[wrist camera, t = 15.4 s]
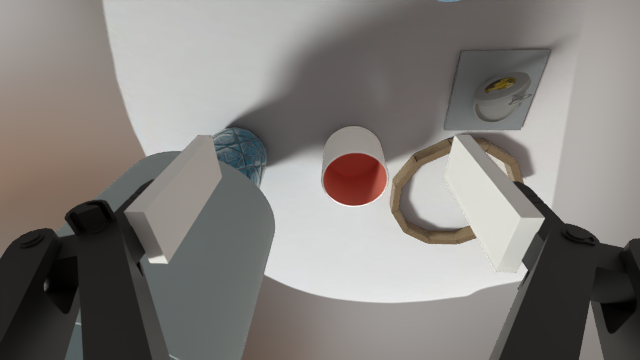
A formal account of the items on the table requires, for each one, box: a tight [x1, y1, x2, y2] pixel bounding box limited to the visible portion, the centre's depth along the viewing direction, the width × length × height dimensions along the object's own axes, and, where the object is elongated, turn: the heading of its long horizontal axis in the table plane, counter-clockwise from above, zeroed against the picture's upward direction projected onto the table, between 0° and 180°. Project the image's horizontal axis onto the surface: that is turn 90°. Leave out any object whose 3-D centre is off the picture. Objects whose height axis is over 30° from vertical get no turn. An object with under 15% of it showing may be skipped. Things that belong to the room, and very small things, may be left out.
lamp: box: [55, 127, 275, 360], centre depth 37 cm, size 19×19×38 cm
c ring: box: [390, 139, 524, 244], centre depth 54 cm, size 22×22×2 cm
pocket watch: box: [473, 72, 532, 123], centre depth 40 cm, size 8×8×10 cm
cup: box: [321, 126, 389, 207], centre depth 47 cm, size 10×10×10 cm
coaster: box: [444, 49, 551, 130], centre depth 44 cm, size 12×12×1 cm
